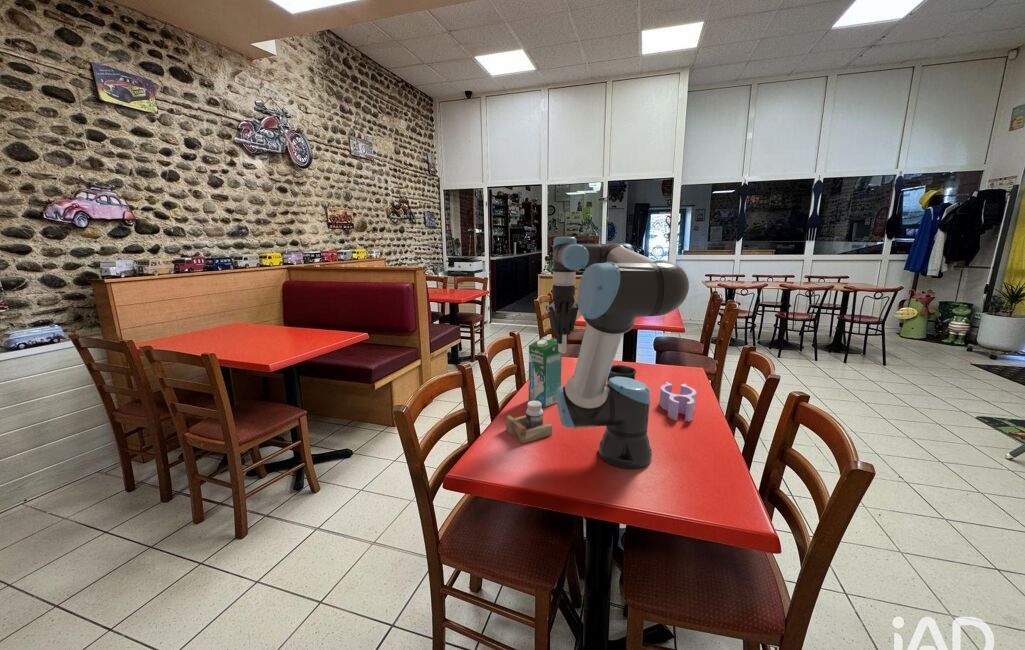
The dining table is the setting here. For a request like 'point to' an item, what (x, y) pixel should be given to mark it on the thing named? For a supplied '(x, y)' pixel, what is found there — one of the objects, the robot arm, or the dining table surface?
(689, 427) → the dining table surface
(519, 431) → the channel
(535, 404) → the pill bottle
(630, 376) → the mug
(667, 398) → the clip
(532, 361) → the milk carton
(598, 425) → the robot arm
